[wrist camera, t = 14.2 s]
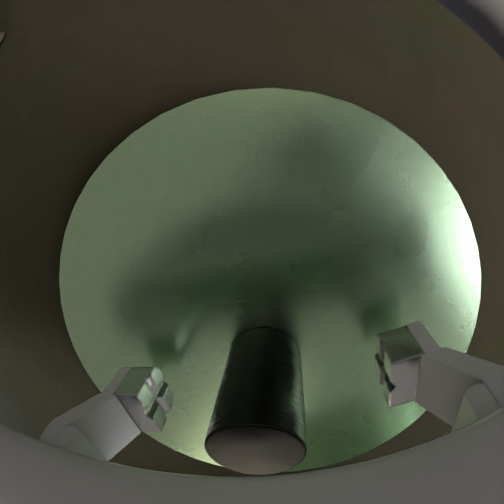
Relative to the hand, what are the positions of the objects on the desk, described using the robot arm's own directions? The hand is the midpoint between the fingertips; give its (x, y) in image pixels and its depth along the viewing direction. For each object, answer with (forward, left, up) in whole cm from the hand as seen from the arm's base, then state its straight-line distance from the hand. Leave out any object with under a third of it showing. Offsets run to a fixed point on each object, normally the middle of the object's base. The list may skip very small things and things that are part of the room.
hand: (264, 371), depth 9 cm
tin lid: (0, 0, -1) cm, 1 cm away
